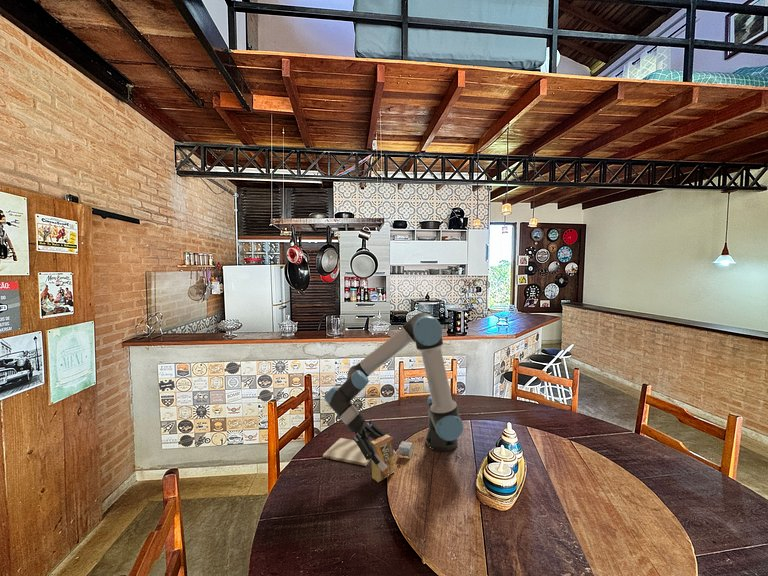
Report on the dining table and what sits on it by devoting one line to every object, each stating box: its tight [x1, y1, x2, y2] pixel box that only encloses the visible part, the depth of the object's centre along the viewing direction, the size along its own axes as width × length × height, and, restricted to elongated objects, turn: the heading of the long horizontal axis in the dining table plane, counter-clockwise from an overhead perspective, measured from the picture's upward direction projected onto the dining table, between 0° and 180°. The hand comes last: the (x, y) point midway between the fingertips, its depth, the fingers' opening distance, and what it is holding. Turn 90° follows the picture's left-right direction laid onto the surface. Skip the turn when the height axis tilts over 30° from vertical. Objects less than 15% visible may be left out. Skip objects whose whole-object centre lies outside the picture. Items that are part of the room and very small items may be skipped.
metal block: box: [398, 440, 414, 457], centre depth 147 cm, size 5×5×5 cm
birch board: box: [322, 437, 371, 467], centre depth 152 cm, size 22×16×1 cm
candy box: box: [370, 434, 395, 483], centre depth 133 cm, size 9×4×15 cm, turn 129°
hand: (389, 462), depth 131 cm, fingers closed on candy box, 9 cm apart
